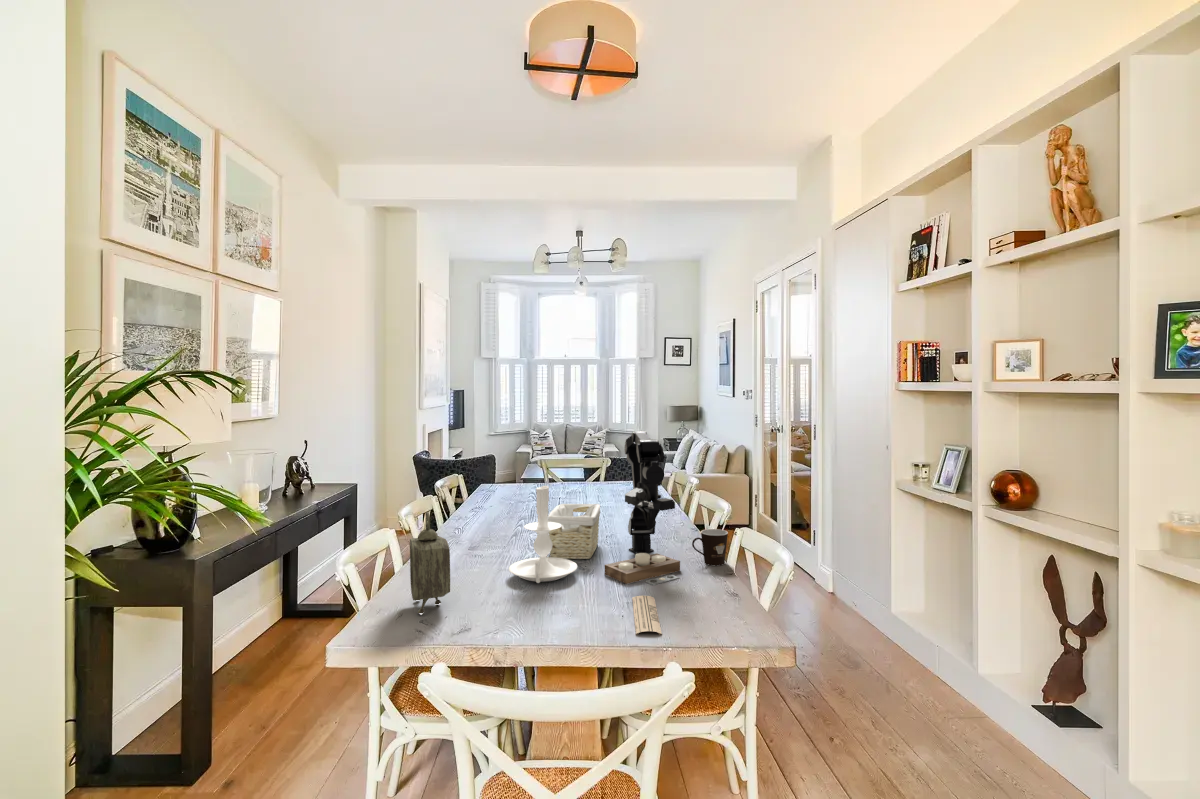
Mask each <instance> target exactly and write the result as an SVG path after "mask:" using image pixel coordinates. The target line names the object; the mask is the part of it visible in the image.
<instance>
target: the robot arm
mask: <svg viewBox="0 0 1200 799" xmlns="http://www.w3.org/2000/svg"><path fill="white" fill-rule="evenodd" d="M624 454H625V455H626V461H627V462H628V464H629V465H630V466H631V474H632V488H633V489H631V490H630V491H628V492H626V493H625V494H624V503H627V505H632V506H634V507H633V509H632V511H631V513H630V517H629V519H628V525H627V528H628V531H627V533H628V534H629V535H630V536H631V547H630V548H628V551H629V552H632V553H635V554H637V553H647V554H649V553H651V552H654V551H655V550H654V549H653V548H652V546H651V545H652V539H651V535H655V533H656V524H657V521H656V519H657V516H658V515H659V513H660V512H661V511H663V512H664V511H669V510H673V509H674V510H675V509H676V501H675V500H674V499H672V498H668V497H667V498H666V497H665V498H662V495H661V494H659V486H662V481H663V480H664V478H665V472H664V470H663V468H662V467H661V466H660V463H664V460H665V457H666V456H665V452H664V448H663V446H662V444H661V443H660V441H659V440H658V439H653V438H652V439H651V437H649V435H648V433H647V431H645V430H634V431H632V432H631V434H630V436H628V437H627V438H626V439H625V442H624Z"/></svg>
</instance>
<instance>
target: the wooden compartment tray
mask: <svg viewBox="0 0 1200 799" xmlns="http://www.w3.org/2000/svg"><path fill="white" fill-rule="evenodd" d="M649 555H650V565H646V566H642V567H641V566H638V565H636V564H635V557H634V558H629V559H625V560H620V561H616V562H613V563H612V562H611V563H608V564H607V563H606V564H604V576H607V577H610V578H612V579H614V580H615V581H619V582H620V583H624V584H625V585H629V584H632V583H637V582H641V581H644V580H645V581H646V580H650V579H654V578H658V577H662V576H666V575H670V574H672V573H675V572H680V571H681V561H680V560H677V559H674V558H672V557H668V556H666V555H664V554H663V555H662V554H661V553H657V552H656V553H652V554H649ZM655 555H662V556H665V557H666V561H664V562H659V563H657V562H654V561H652V556H655ZM623 562H628V563H632V564H633V569H629V570H625V571H624V570H621V569H619V564H620V563H623Z"/></svg>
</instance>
